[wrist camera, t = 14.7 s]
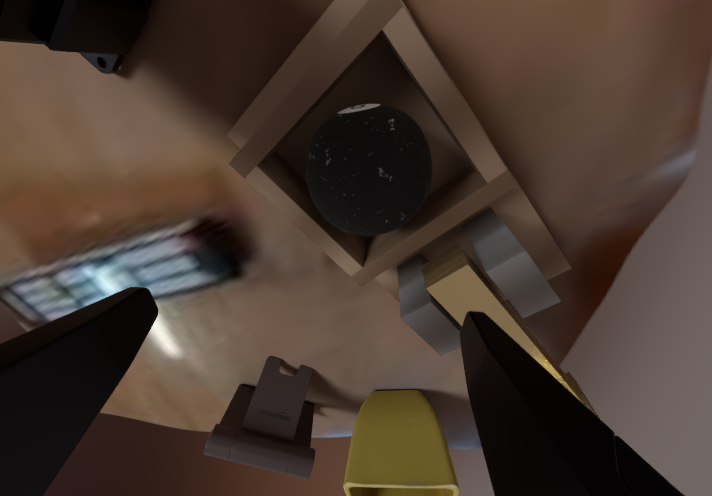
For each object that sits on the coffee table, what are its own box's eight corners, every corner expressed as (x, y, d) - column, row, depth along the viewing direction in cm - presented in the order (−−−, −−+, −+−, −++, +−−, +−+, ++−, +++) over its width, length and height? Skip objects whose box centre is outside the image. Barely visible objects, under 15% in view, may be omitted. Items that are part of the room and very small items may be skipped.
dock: (233, 131, 17) (171, 157, 12) (372, -40, 13) (366, -112, 8) (432, 326, 25) (445, 392, 20) (564, 260, 20) (625, 323, 15)
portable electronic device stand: (236, 389, 32) (196, 478, 25) (247, 347, 28) (203, 440, 21) (310, 409, 33) (292, 501, 26) (331, 372, 29) (315, 469, 22)
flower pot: (439, 376, 28) (460, 489, 21) (439, 422, 33) (456, 530, 25) (352, 378, 29) (341, 485, 22) (363, 422, 34) (358, 524, 26)
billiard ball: (420, 88, 14) (441, 98, 9) (425, 198, 17) (444, 250, 12) (307, 109, 15) (270, 129, 10) (331, 210, 18) (312, 264, 13)
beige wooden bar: (416, 268, 16) (431, 353, 12) (463, 239, 15) (502, 321, 10) (534, 394, 22) (579, 488, 17) (575, 380, 21) (636, 477, 16)
